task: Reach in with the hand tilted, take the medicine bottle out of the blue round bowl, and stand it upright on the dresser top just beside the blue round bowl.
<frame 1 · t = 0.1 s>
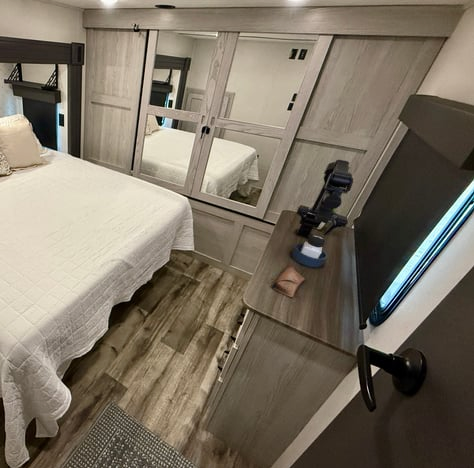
hand: (312, 231, 129), 15 cm above the table, tool pointing down, fingers open, 9 cm apart
sunglasses case: (288, 283, 119), on the table
blue round bowl: (306, 259, 135), on the table
medicine bottle: (306, 259, 135), resting on blue round bowl
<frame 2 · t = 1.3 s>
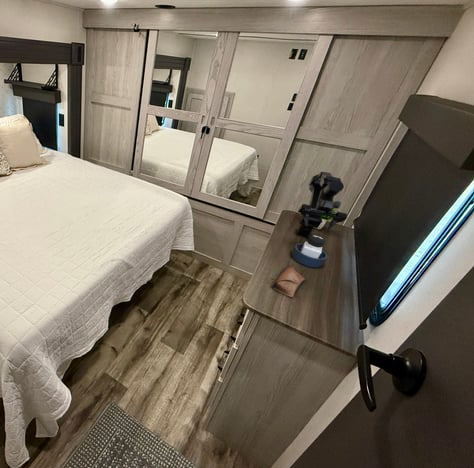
hand: (317, 228, 135), 13 cm above the table, tool tilted 45°, fingers open, 9 cm apart
nothing on the table moved.
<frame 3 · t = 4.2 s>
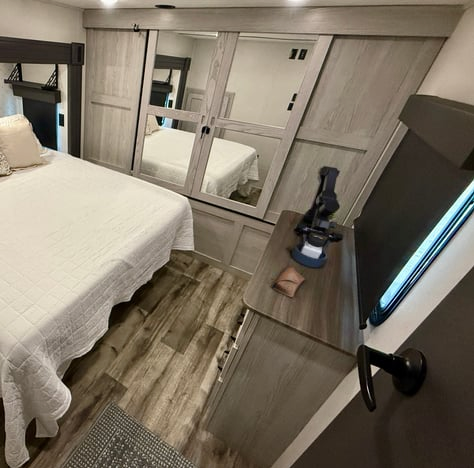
hand: (312, 248, 131), 7 cm above the table, tool tilted 45°, fingers closed on medicine bottle, 7 cm apart
medicine bottle: (306, 259, 135), resting on blue round bowl, touching gripper
everything else where it was.
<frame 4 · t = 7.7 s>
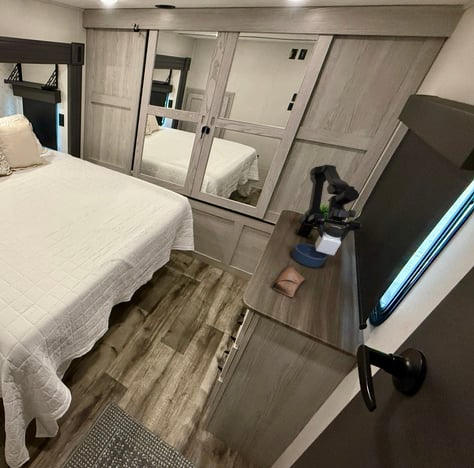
hand: (331, 239, 127), 13 cm above the table, tool tilted 45°, fingers closed on medicine bottle, 7 cm apart
medicine bottle: (323, 250, 132), point 6 cm above the table, touching gripper
everything else where it was.
when the fingers open (7 cm above the table, at t = 11.3 s): medicine bottle stays where it is, on the table.
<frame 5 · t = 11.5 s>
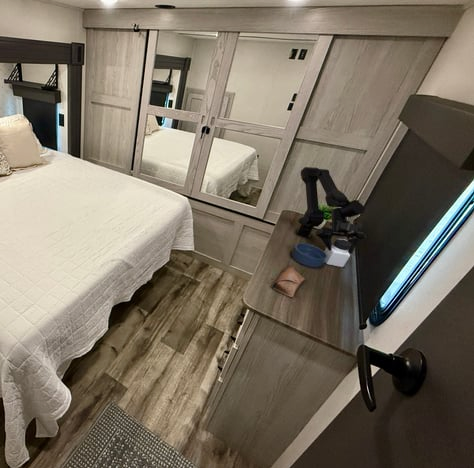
hand: (340, 251, 130), 7 cm above the table, tool tilted 45°, fingers open, 9 cm apart
medicine bottle: (331, 262, 135), on the table
everything else where it was.
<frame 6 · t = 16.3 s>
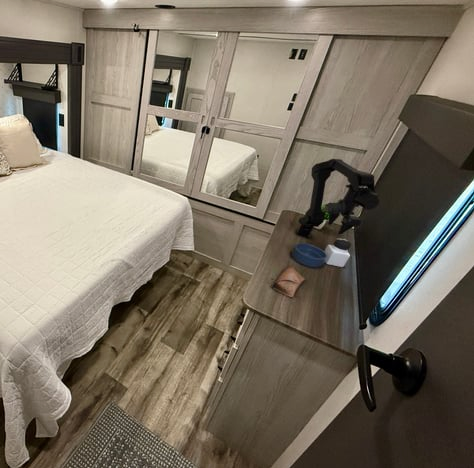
hand: (334, 229, 136), 13 cm above the table, tool pointing down, fingers open, 9 cm apart
nothing on the table moved.
at the end: medicine bottle inside the target area (0.2 cm from its centre), on the table; medicine bottle tilted 0°; medicine bottle touching table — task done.
